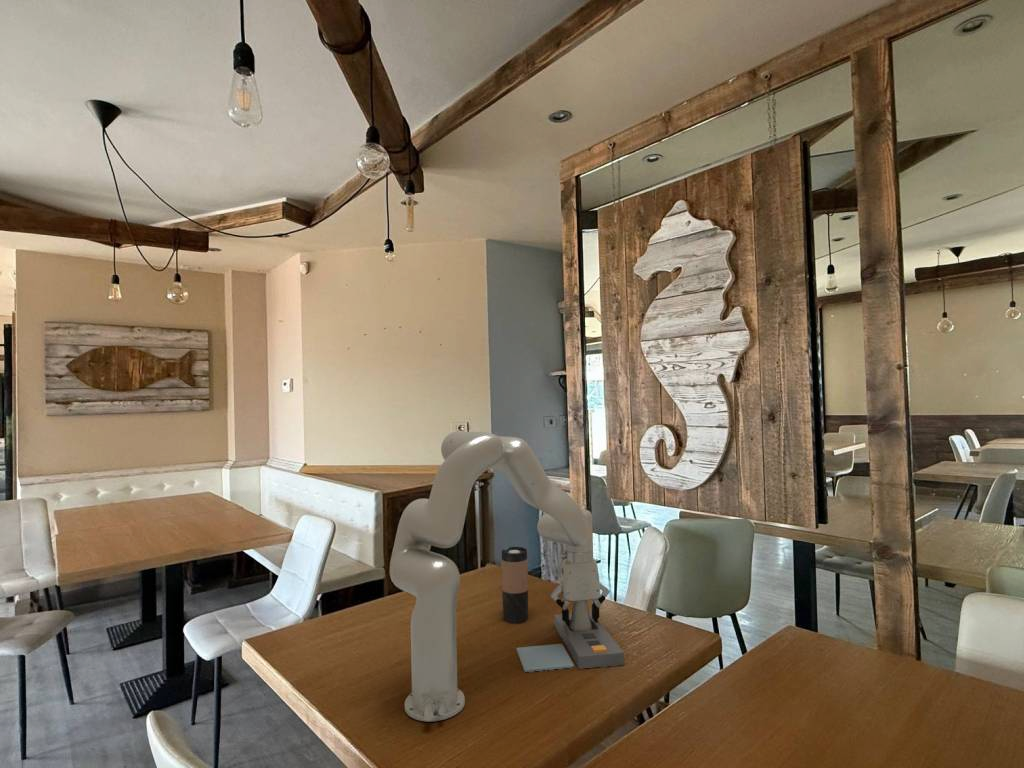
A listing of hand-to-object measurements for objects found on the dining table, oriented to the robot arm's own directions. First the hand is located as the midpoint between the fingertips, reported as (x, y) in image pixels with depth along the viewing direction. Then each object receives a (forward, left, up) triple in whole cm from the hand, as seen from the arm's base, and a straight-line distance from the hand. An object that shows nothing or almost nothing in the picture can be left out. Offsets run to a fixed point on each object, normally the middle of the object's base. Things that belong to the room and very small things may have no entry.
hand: (580, 621), depth 150 cm
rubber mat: (-11, +13, -4) cm, 17 cm away
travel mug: (+15, +16, -4) cm, 22 cm away
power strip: (-5, 0, -4) cm, 6 cm away
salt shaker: (0, 0, -4) cm, 4 cm away
